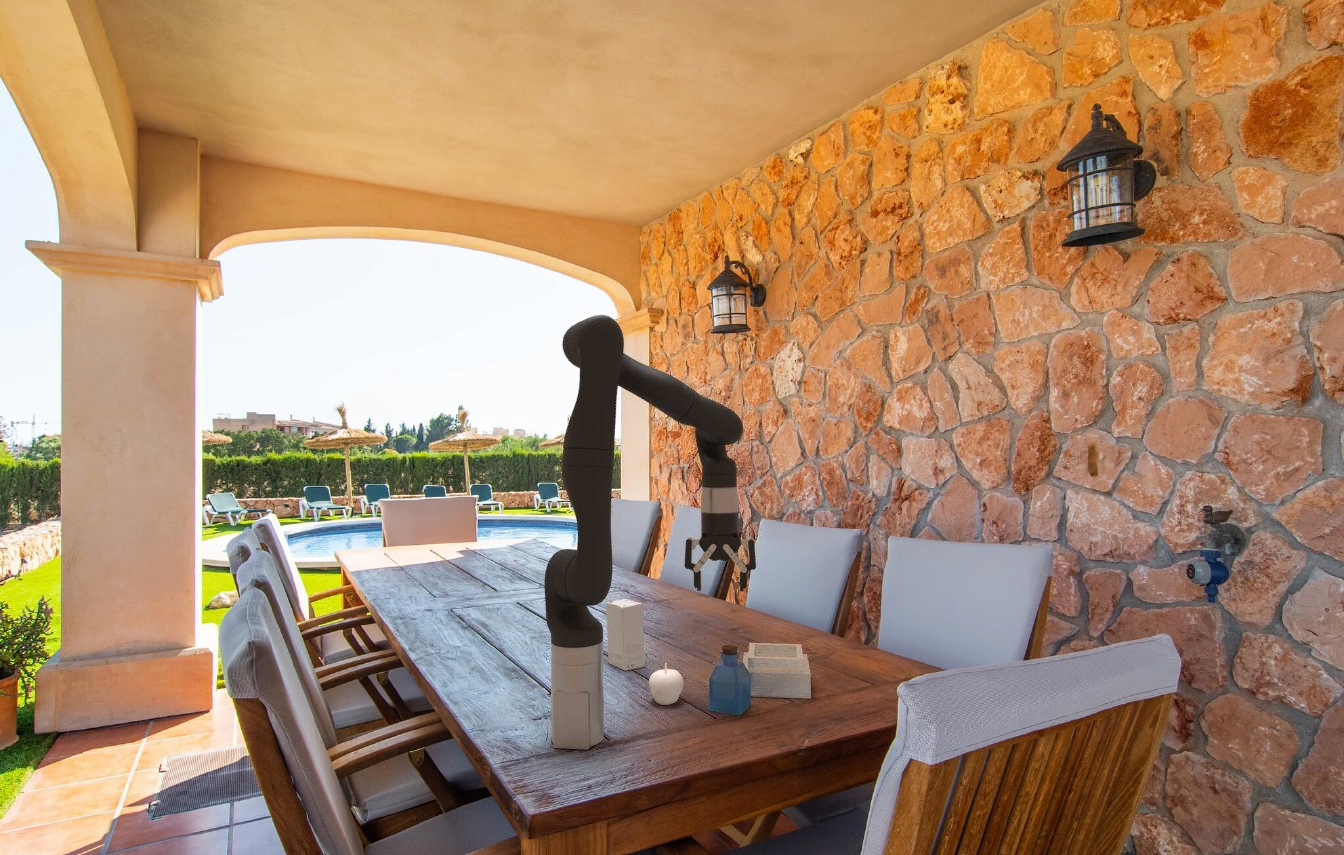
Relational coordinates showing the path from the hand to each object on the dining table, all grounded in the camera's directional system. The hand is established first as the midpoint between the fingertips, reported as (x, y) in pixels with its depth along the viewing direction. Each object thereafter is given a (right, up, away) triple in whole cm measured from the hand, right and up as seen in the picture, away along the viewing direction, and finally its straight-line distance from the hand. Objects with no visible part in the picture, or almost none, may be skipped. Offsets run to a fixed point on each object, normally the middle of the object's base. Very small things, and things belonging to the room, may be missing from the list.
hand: (720, 590), depth 145 cm
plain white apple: (-11, -23, +1) cm, 25 cm away
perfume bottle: (+2, -23, -3) cm, 23 cm away
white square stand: (+12, -23, +10) cm, 28 cm away
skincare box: (-21, -24, +26) cm, 40 cm away
